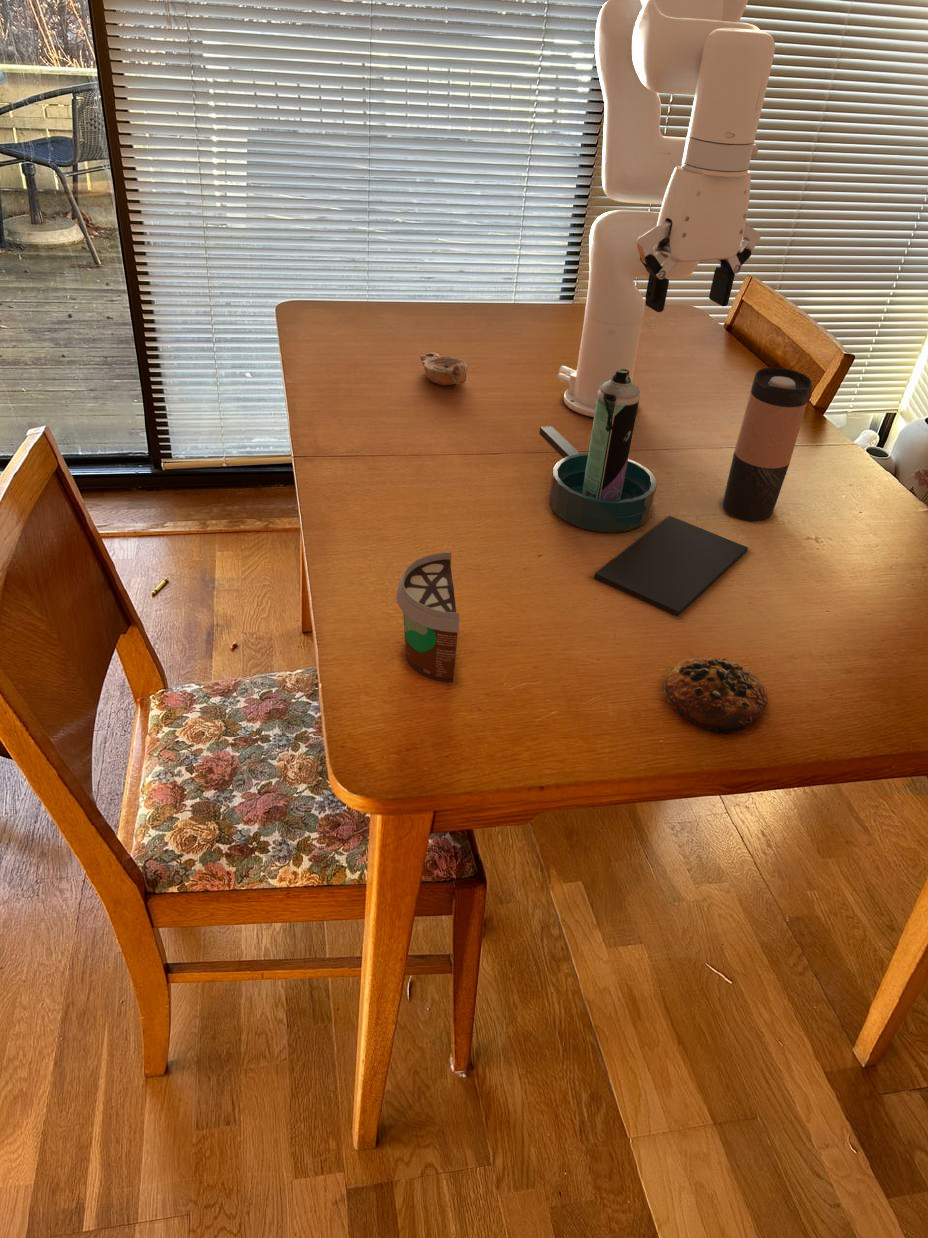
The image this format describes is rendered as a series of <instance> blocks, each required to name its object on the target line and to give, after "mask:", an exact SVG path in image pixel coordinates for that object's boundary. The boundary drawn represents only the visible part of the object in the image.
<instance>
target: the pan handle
mask: <svg viewBox="0 0 928 1238" xmlns="http://www.w3.org/2000/svg"><path fill="white" fill-rule="evenodd" d="M538 433H539V436H540V437H542V439H544V440H545V442H547V443H548V444H549V446H551V448H553V449H554V450H555V452H557V453H558V454H559V455H560V456H561V457H562V459H564V458H565V457H568V456H572V455H575V454H581V453H580V451H578V450H577V449H576V448H575V447H574V446H573V445H572V444H571V443H570V441H568V440H567V439H566V438H565V437H564V436H562V434H560V432H559V431H558V430H556V428H554V427H553V426H552V425H546V426H540V427H539V432H538Z"/></svg>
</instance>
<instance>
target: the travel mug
mask: <svg viewBox="0 0 928 1238" xmlns="http://www.w3.org/2000/svg"><path fill="white" fill-rule="evenodd" d="M812 388H813V381H812V379H811V378H810V377H809V376H807V375H805V374H803V373H801V372H799V371H796V370H793V369H788V368H784V367H765V368H761V369H759V370H757V371H756V372H755V374H754V378H753V381H752V385H751V389H750V391H749V392H750V393H749V396H748V399H747V404H746V406H745V411H744V414H743V418H742V421H741V425H740V429H739V432H738V436H737V440H736V444H735V447H734V452H733V454H732V455H733V456H732V460H731V464H730V468H729V474H728V478H727V482H726V486H725V491H724V496H723V500H722V509H723V510H724V511H725V512H726V513H727V514H728V515H730V516H732V517H733V518H736V519H738V520H741V521H744V522H745V521H746V522H752V523H758V522H759V523H761V522H764V521H767V520H769V519H770V518H771V517H772V515H773V513H774V510H775V507H776V504H777V501H778V499H779V496H780V493H781V490H782V487H783V484H784V481H785V478H786V475H787V473H788V470H789V466H790V463H791V461H792V456H793V453H794V449H795V446H796V443H797V439H798V436H799V433H800V430H801V426H802V423H803V419H804V416H805V412H806V408H807V405H808V401H809V399H810V395H811V392H812Z"/></svg>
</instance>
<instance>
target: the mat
mask: <svg viewBox="0 0 928 1238" xmlns="http://www.w3.org/2000/svg"><path fill="white" fill-rule="evenodd" d="M748 550H749V547H748V546H746V545H743V544H742V543H738V542H736V541H733V540H731V539H729V538H726V537H724V536H721V535H718V534H716V533H714V532H711V531H710V530H706V529H704V528H701V527H699V526H697V525H695V524H692V523H690V522H687V521H685V520H682V519H679V518H677V517H676V516H672V515H668V516H667V517H666V518H665V519H663V520H661V522H659V523H658V524H656V525H655V526H654V527H653V528H651V529H650V530H649V531H648V532H646V533H645V534H644V535H642V536H641V537H640V538H639V539H637V540H636V541H635V542H633V543H632V544H631V545H629V546H628V547H626V548H625V549H624V550H623V551H621V552H620V553H619V554H618V555H617V556H615V557H613V559H611V560H610V561H609V562H607V563H606V564H604V565H603V566H602V567H601V568H600V569H598V570H597V571H596V572H595V573H594V577H593V579H595V580H596V581H598V582H601V583H603V584H605V585H607V586H610V587H612V588H614V589H617V590H618V591H621V592H623V593H624V594H627V595H629V596H631V597H634V598H636V599H638V600H640V601H642V602H644V603H646V604H649V605H651V606H654V607H656V608H658V609H660V610H662V611H664V612H666V613H669V614H671V615H673V616H675V617H676V618H678V617H679V616H680V615H682V613H684V612H685V611H686V610H687V609H688V608H689V607H690V606H691V605H692V604H693V603H695V601H696V600H698V599H699V598H700V597H701V596H702V595H703V594H704V593H705V592H707V590H708V589H709V588H711V586H712V585H713V584H715V583H716V582H717V581H718V580H719V579H721V577H723V575H724V574H725V573H727V571H728V570H730V569H731V568H732V567H733V566H734V565H735V564H736V563H737V562H738V561H739V560H740V559H742V558H743V556H744V555H746V554H747V553H748Z"/></svg>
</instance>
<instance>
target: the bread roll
mask: <svg viewBox="0 0 928 1238" xmlns="http://www.w3.org/2000/svg"><path fill="white" fill-rule="evenodd" d="M663 684H664V687H663V690H662V691H663V695H664V697H665V699H666V701H667V703H668V704H669V706H670V707H671V708H672V709H673V711H674V712H676V713H677V714H678V715H680V716H682V717H683V718H684V719H685V720H687V721H689V722H691V723H692V724H695V726H698V727H700V728H703V729H704V730H706V731H709V732H710V733H713V734H718V735H724V734H727V735H729V734H734V733H737V732H741V731H744V730H746V728H749V727H750V726H752V725H753V724H755V723H756V721H757V720H759V718H760V717H761V715H762V714H763V713H764V712H765V710H766V707H767V705H768V701H769V697H768V691H767V689H766V687H765V685H764V684H763V682H762V681H761V680H760V678H759V677H758V676H757V675H755V674H754V673H753V672H752V671H751V670H750V669H749V668H747V667H744V666H743V665H742V664H740V663H739V662H735V661H733V660H730V659H729V658H722V659H718V658H709V657H696V658H695V657H694V658H689V659H685V660H682V661H679V662H678V663H676V665H675V666H674V667H671V668H670V669H669V670H668V671H667V675H666V677H665V678H664V681H663Z"/></svg>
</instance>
